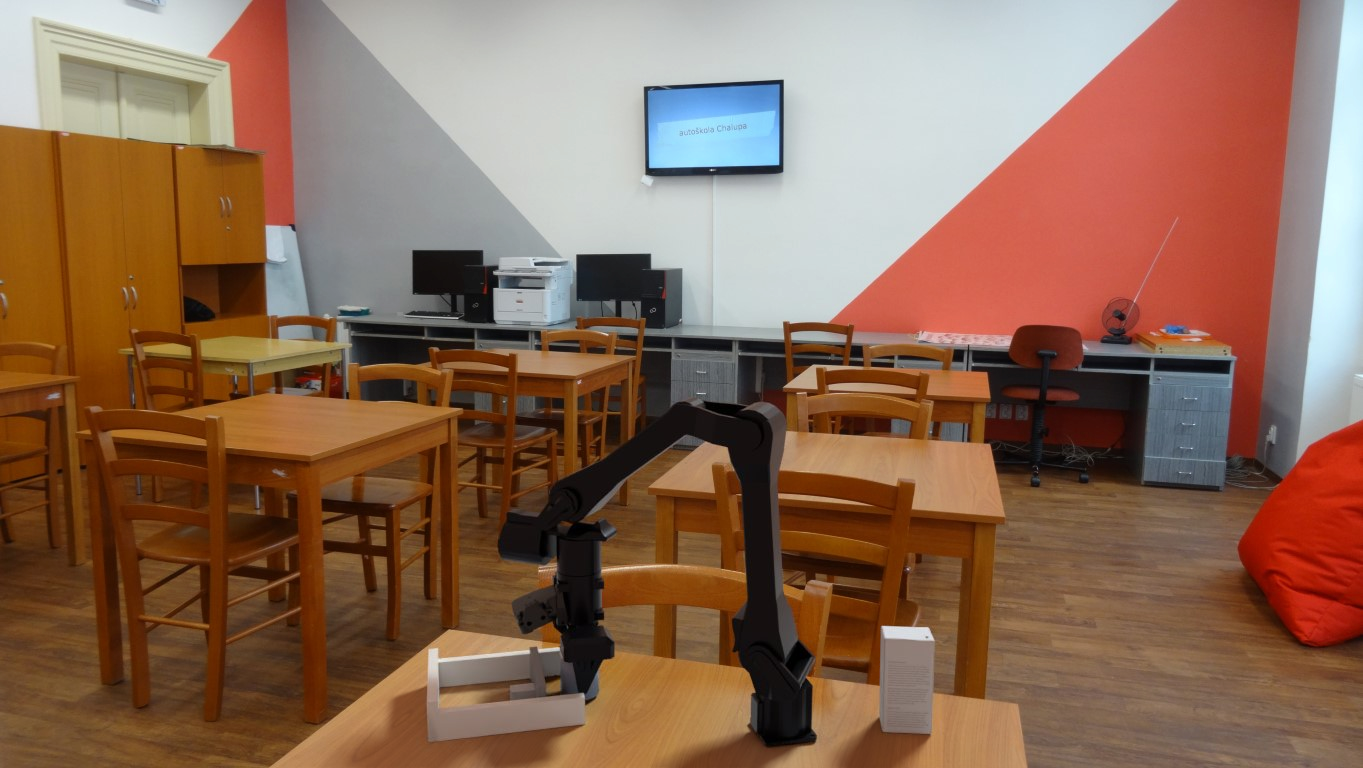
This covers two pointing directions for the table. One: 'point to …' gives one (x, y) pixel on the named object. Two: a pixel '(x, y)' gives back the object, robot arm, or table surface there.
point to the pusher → (537, 680)
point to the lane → (496, 714)
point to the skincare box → (906, 679)
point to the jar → (569, 681)
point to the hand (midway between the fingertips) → (579, 684)
